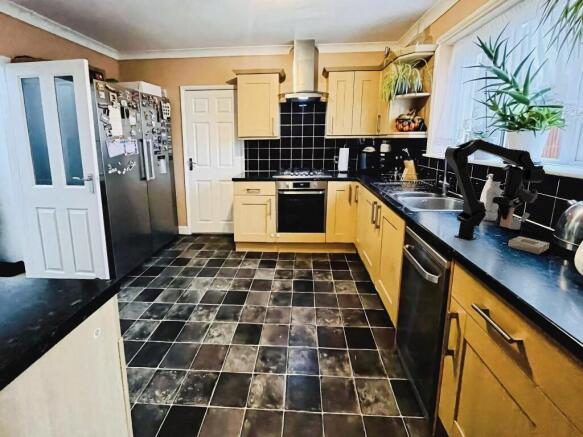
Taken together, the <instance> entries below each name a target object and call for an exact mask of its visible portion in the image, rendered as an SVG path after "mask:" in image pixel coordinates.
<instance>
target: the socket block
mask: <svg viewBox="0 0 583 437" xmlns="http://www.w3.org/2000/svg"><path fill="white" fill-rule="evenodd" d="M507 247H509V248H513V249H517V250H521V251H524V252H525V251H526V252H528V253H532V254H537V255H540V254H542V253H543V252H545V251H547V249H548V250H549V247H550V242H546V241H543V240H542V241H541V240H538V239H533V238H529V237H525V236H517V237H514V238H511V239H509V240H508V245H507Z"/></svg>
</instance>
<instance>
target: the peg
mask: <svg viewBox="0 0 583 437" xmlns="http://www.w3.org/2000/svg"><path fill="white" fill-rule="evenodd" d="M514 212H515V210H514V208H511V209H510V212H509V214H508V217H507V219H506V220H504V219H503V217H502V215H501V217H500V223H499V227H503V228H509V227H511V223H512V219H513V218H514V217H513V216H514Z"/></svg>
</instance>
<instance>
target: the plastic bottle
mask: <svg viewBox="0 0 583 437" xmlns="http://www.w3.org/2000/svg"><path fill="white" fill-rule="evenodd" d="M500 186H501V181H491V182H490V187H489V188H488V189H487V190H486V197H485V209H486V210H487V211H485V212H486V216H485V217H484V219H483V220H485V221H487V222H488V221H489V222H493V221H494V222H495V221H496V220H497V218H498V208H499V206H498V204H496V203H492V199H493V198H494V197H495V196H501V194H502V193H503V192H502V189H501V188H500Z"/></svg>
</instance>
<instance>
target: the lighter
mask: <svg viewBox="0 0 583 437" xmlns="http://www.w3.org/2000/svg"><path fill="white" fill-rule="evenodd" d="M529 216H530V213H528V212H524V214H523V215H522V216H521V217H520V218H519V217H513V218H512V223H511V227H508V229H510V230H520V229H521V223H522V222H523V223H525V222H526V220H527V219H528V218H529Z"/></svg>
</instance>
